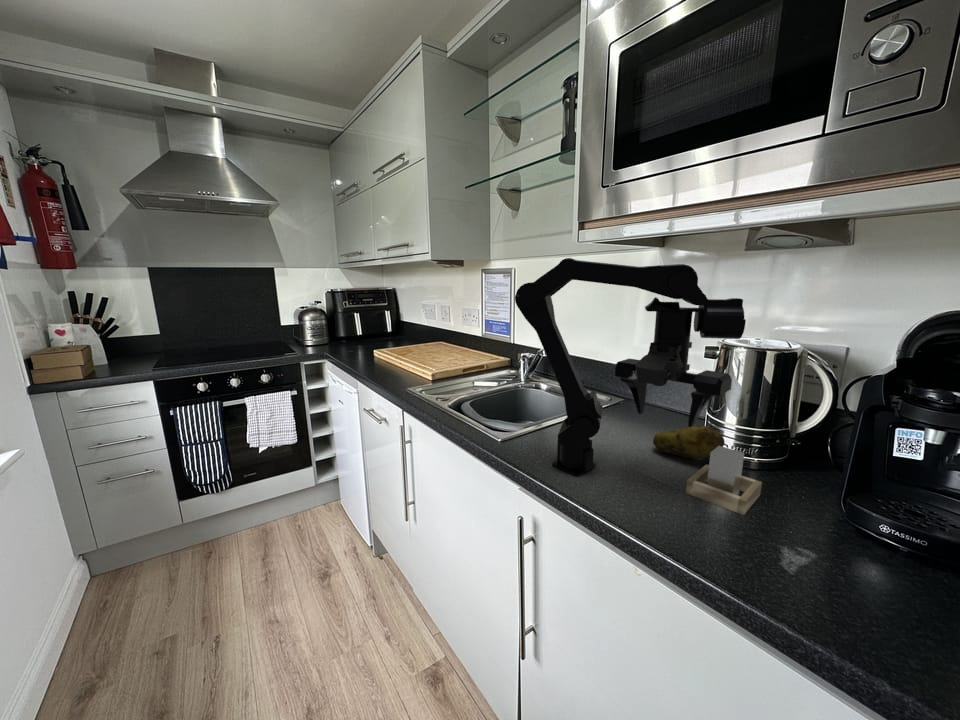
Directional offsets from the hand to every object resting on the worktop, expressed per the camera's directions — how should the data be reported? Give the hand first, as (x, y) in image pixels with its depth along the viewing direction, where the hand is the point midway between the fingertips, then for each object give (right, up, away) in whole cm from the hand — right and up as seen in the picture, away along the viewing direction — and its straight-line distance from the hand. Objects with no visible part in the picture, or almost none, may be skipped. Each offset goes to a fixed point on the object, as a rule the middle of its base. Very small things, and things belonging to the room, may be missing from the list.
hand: (664, 419), depth 72 cm
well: (+9, -13, -3) cm, 16 cm away
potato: (+10, -10, +11) cm, 18 cm away
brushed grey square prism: (+9, -13, -3) cm, 16 cm away
